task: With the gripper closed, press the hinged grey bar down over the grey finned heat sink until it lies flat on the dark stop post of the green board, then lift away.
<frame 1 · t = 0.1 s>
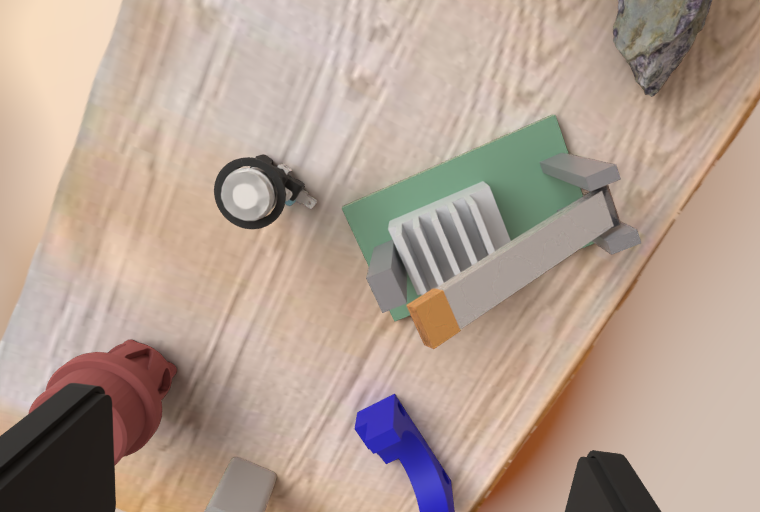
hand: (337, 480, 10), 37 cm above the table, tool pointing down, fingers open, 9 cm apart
clip board: (468, 222, 46), on the table
push button: (286, 183, 46), on the table
blue cradle bracket: (404, 445, 53), on the table
mechanical component: (146, 365, 52), on the table
hinged grey bar: (524, 259, 31), point 15 cm above the table, hinge at 30.0°
power adapter: (251, 473, 55), on the table
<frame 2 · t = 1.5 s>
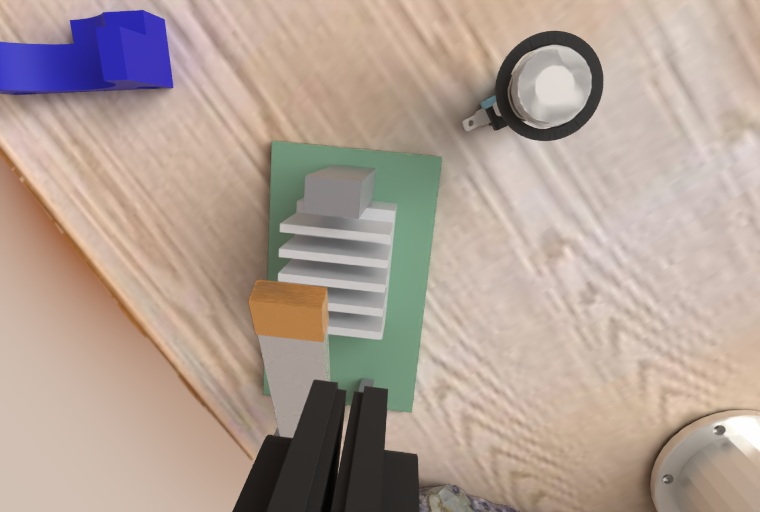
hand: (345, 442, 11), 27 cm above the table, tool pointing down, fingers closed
clip board: (347, 280, 38), on the table
push button: (506, 103, 34), on the table
blue cradle bracket: (91, 59, 36), on the table
hinged grey bar: (303, 406, 24), point 15 cm above the table, hinge at 30.0°
mineral rock: (471, 504, 43), on the table
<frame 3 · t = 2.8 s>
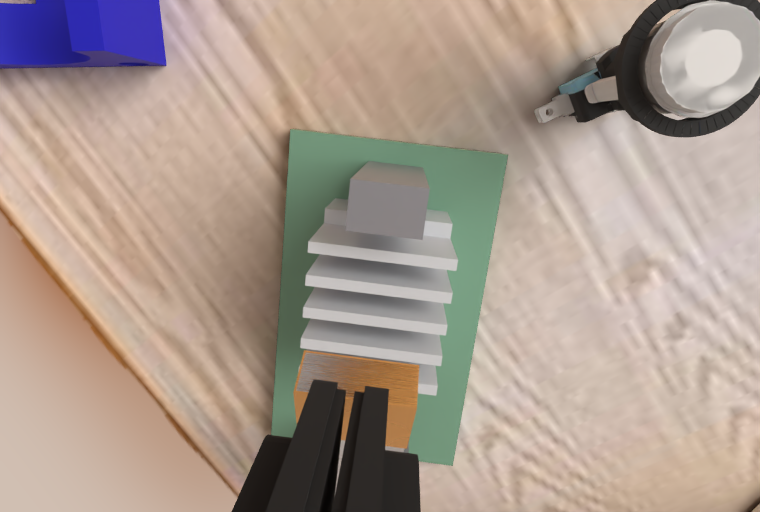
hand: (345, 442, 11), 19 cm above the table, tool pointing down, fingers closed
clip board: (379, 305, 31), on the table
push button: (590, 88, 27), on the table
blue cradle bracket: (60, 25, 28), on the table
hinged grey bar: (348, 507, 17), point 15 cm above the table, hinge at 29.4°, touching gripper
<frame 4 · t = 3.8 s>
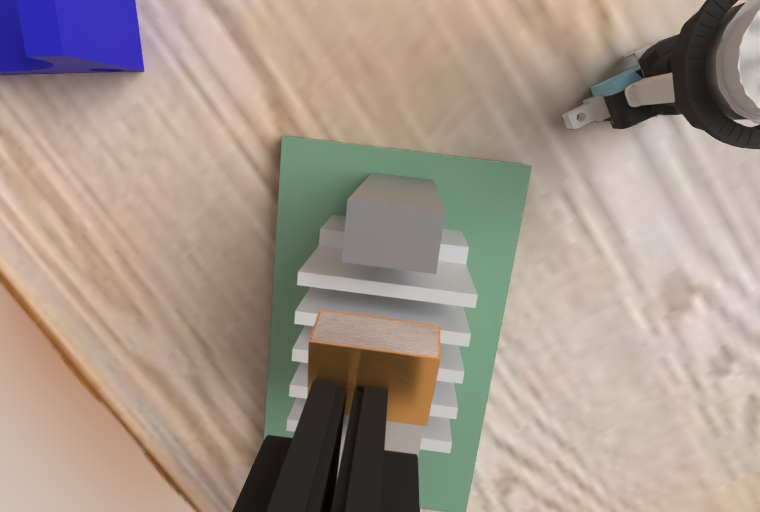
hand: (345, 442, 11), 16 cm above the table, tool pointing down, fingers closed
clip board: (383, 334, 27), on the table
push button: (626, 89, 23), on the table
blue cradle bracket: (25, 27, 25), on the table
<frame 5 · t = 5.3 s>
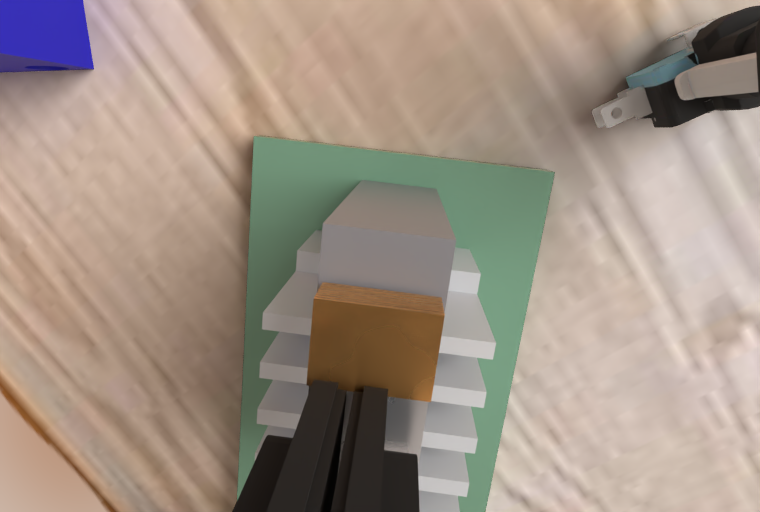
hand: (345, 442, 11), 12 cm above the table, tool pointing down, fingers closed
clip board: (376, 369, 23), on the table
push button: (669, 79, 19), on the table
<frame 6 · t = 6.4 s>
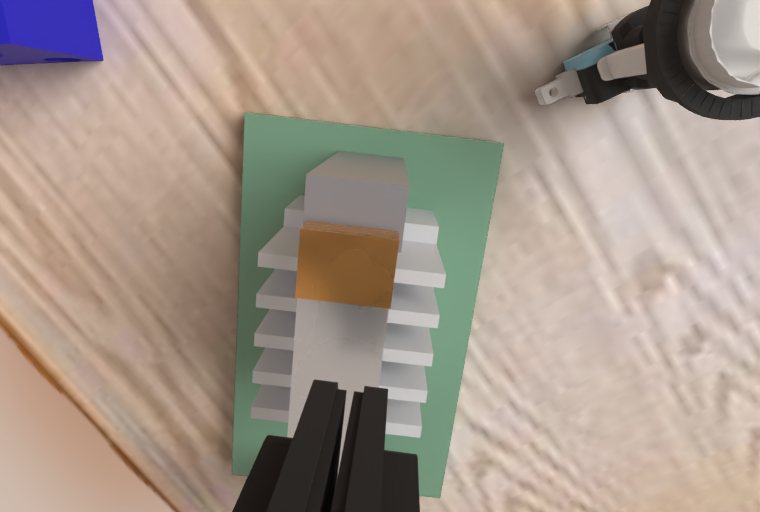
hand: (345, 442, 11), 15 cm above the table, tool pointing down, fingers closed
clip board: (354, 318, 27), on the table
push button: (600, 63, 23), on the table
hinged grey bar: (326, 475, 16), point 11 cm above the table, hinge at -0.1°
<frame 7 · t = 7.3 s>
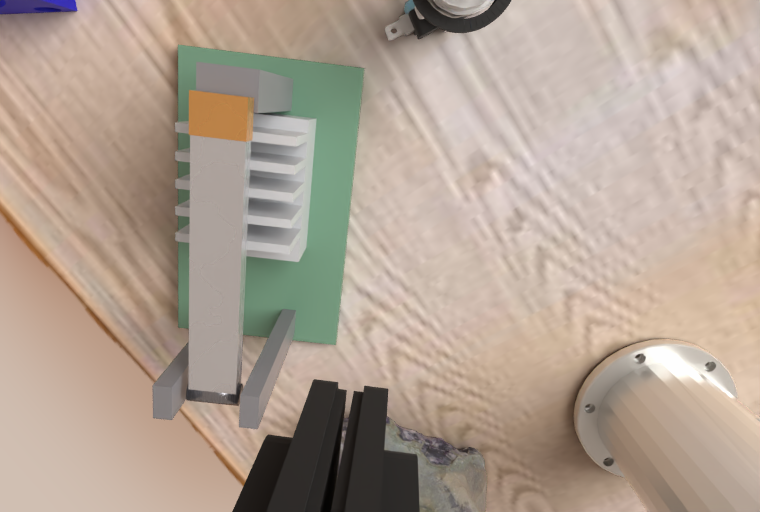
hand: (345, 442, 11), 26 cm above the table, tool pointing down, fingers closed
clip board: (266, 205, 36), on the table
push button: (432, 12, 32), on the table
hinged grey bar: (218, 262, 26), point 11 cm above the table, hinge at -0.1°
mineral rock: (402, 436, 42), on the table
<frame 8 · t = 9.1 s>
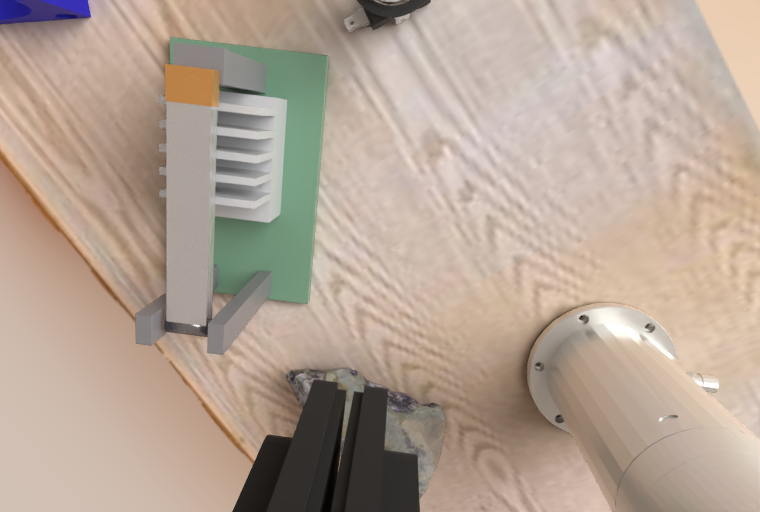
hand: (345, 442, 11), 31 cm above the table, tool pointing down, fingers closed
clip board: (246, 177, 41), on the table
push button: (387, 7, 37), on the table
hinged grey bar: (191, 210, 31), point 11 cm above the table, hinge at -0.1°
mineral rock: (371, 392, 46), on the table
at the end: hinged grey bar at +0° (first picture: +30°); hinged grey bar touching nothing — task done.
